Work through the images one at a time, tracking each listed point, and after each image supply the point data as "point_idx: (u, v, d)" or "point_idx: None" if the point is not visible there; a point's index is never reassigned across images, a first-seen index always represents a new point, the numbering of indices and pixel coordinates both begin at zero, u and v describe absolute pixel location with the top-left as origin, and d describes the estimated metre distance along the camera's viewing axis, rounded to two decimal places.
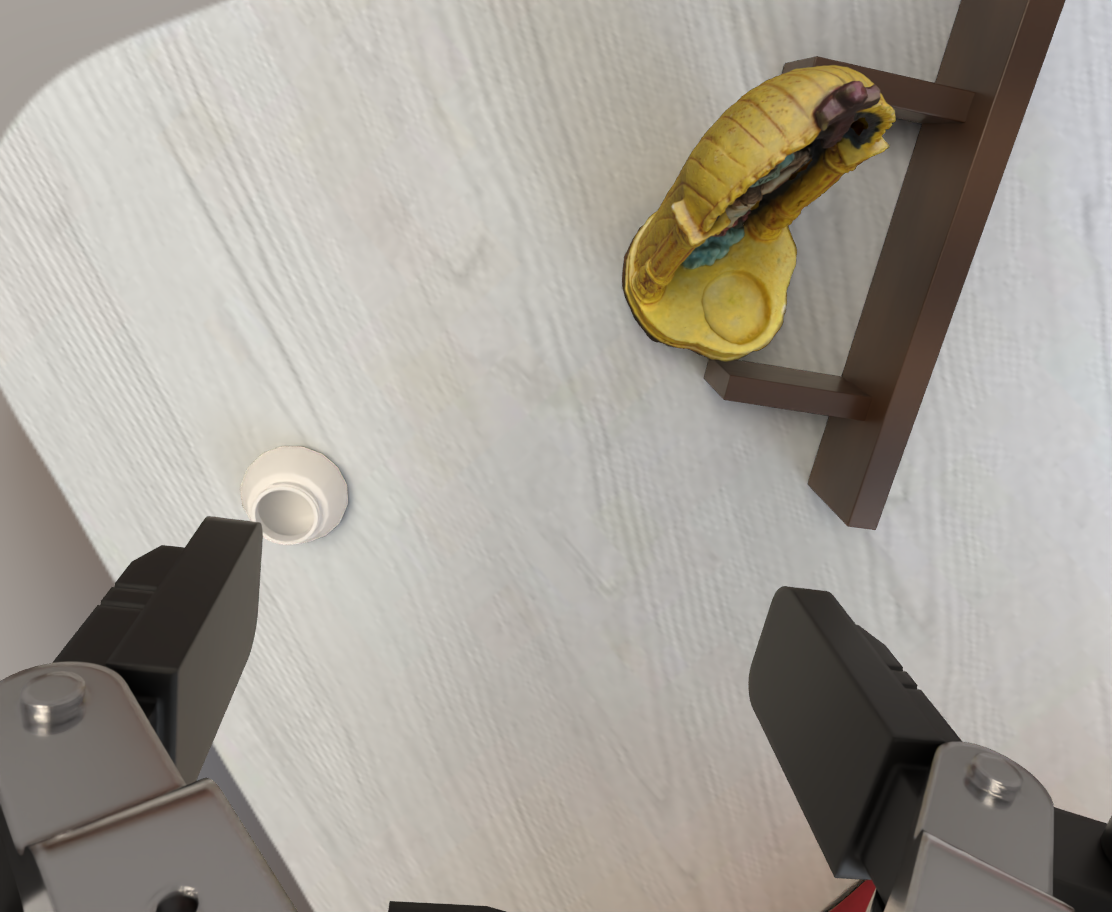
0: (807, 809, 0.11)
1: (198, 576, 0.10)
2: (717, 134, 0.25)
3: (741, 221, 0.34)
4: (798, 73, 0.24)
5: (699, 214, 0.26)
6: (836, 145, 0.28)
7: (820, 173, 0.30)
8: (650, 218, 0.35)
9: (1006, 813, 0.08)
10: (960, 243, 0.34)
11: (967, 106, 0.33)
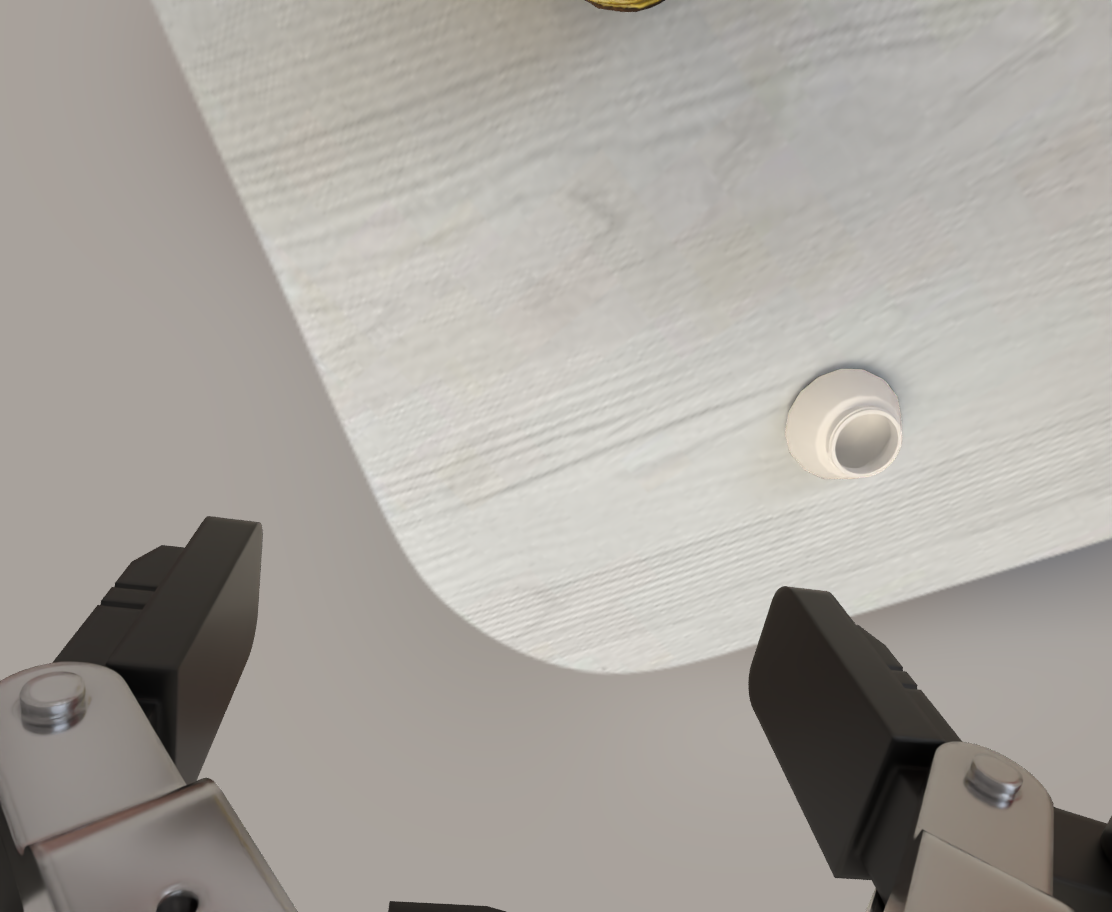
0: (806, 808, 0.11)
1: (198, 576, 0.10)
2: None
3: None
4: None
5: None
6: None
7: None
8: None
9: (1006, 812, 0.08)
10: None
11: None
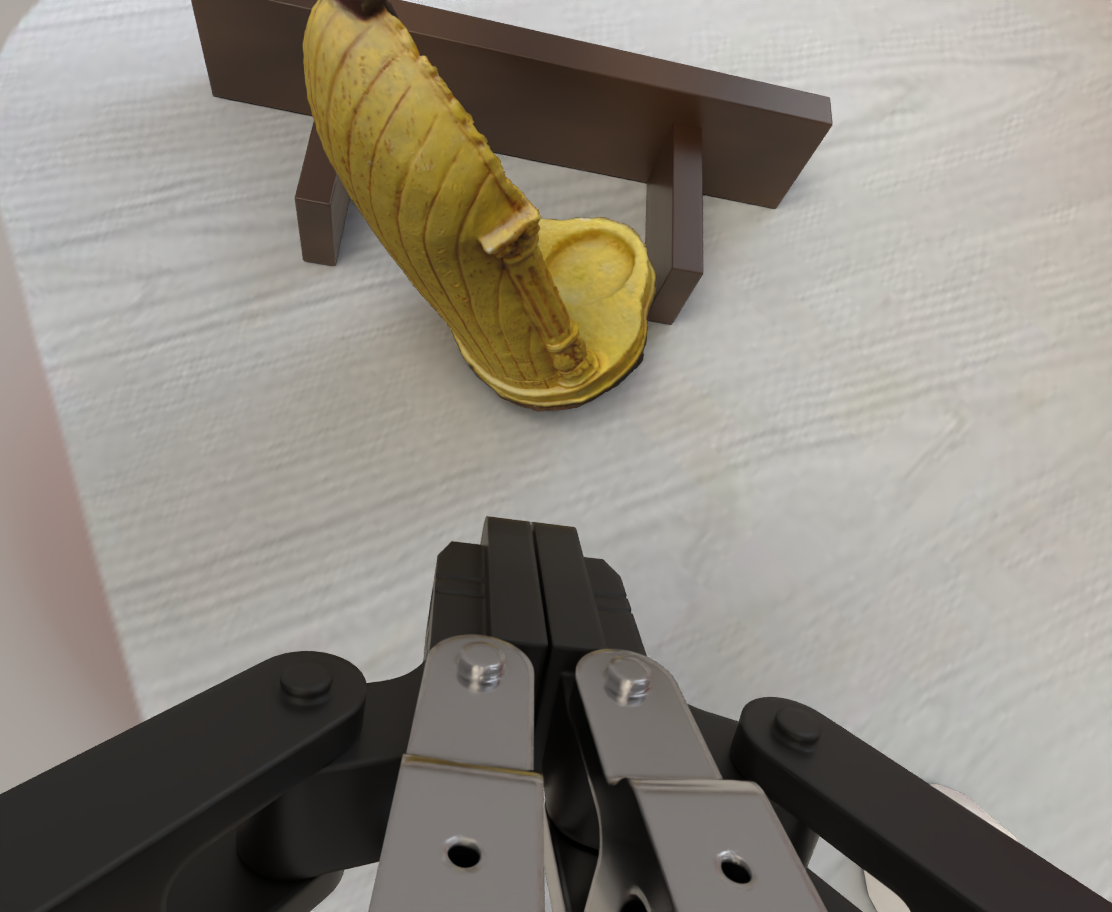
0: None
1: (514, 567, 0.11)
2: (393, 177, 0.18)
3: None
4: (313, 68, 0.18)
5: (499, 204, 0.19)
6: None
7: None
8: (489, 380, 0.28)
9: (621, 705, 0.09)
10: (494, 36, 0.30)
11: None
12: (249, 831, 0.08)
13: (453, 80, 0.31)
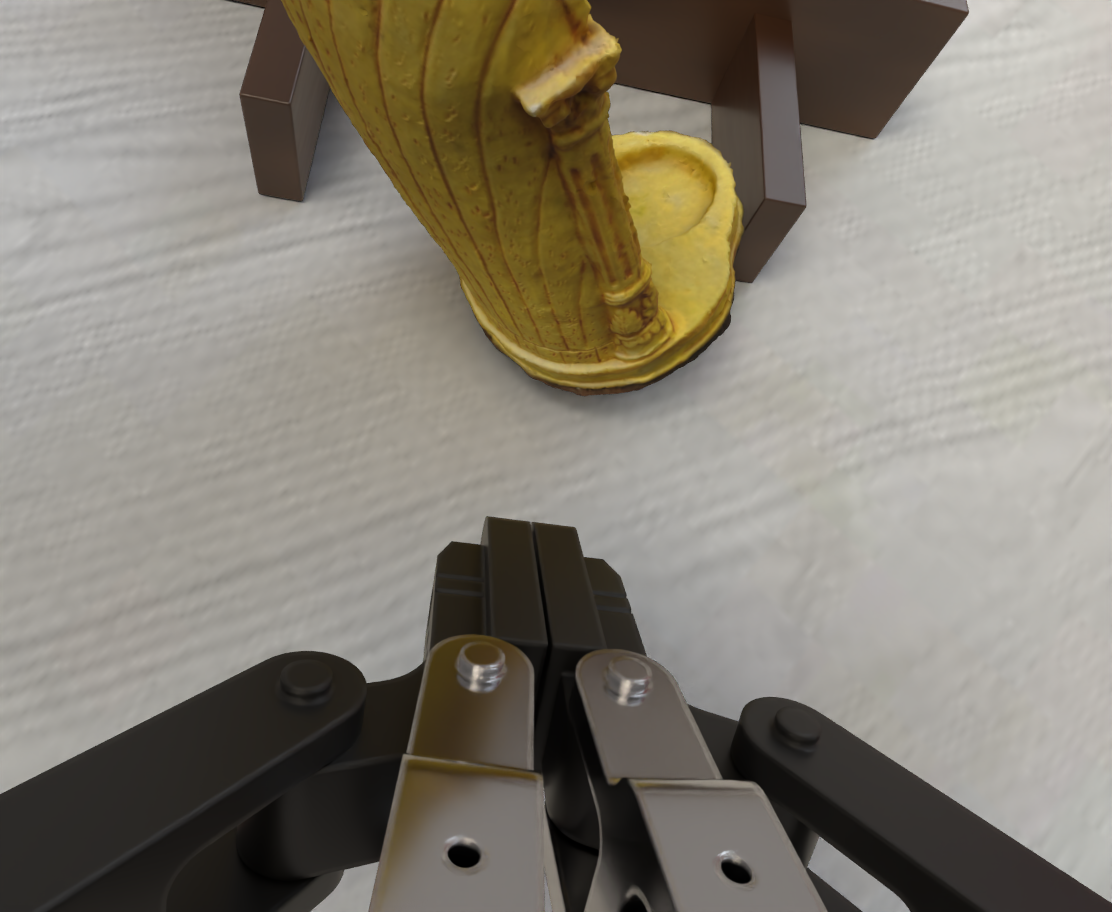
0: None
1: (514, 567, 0.11)
2: None
3: None
4: None
5: (553, 22, 0.11)
6: None
7: None
8: (516, 353, 0.20)
9: (621, 706, 0.09)
10: None
11: None
12: (249, 831, 0.08)
13: None
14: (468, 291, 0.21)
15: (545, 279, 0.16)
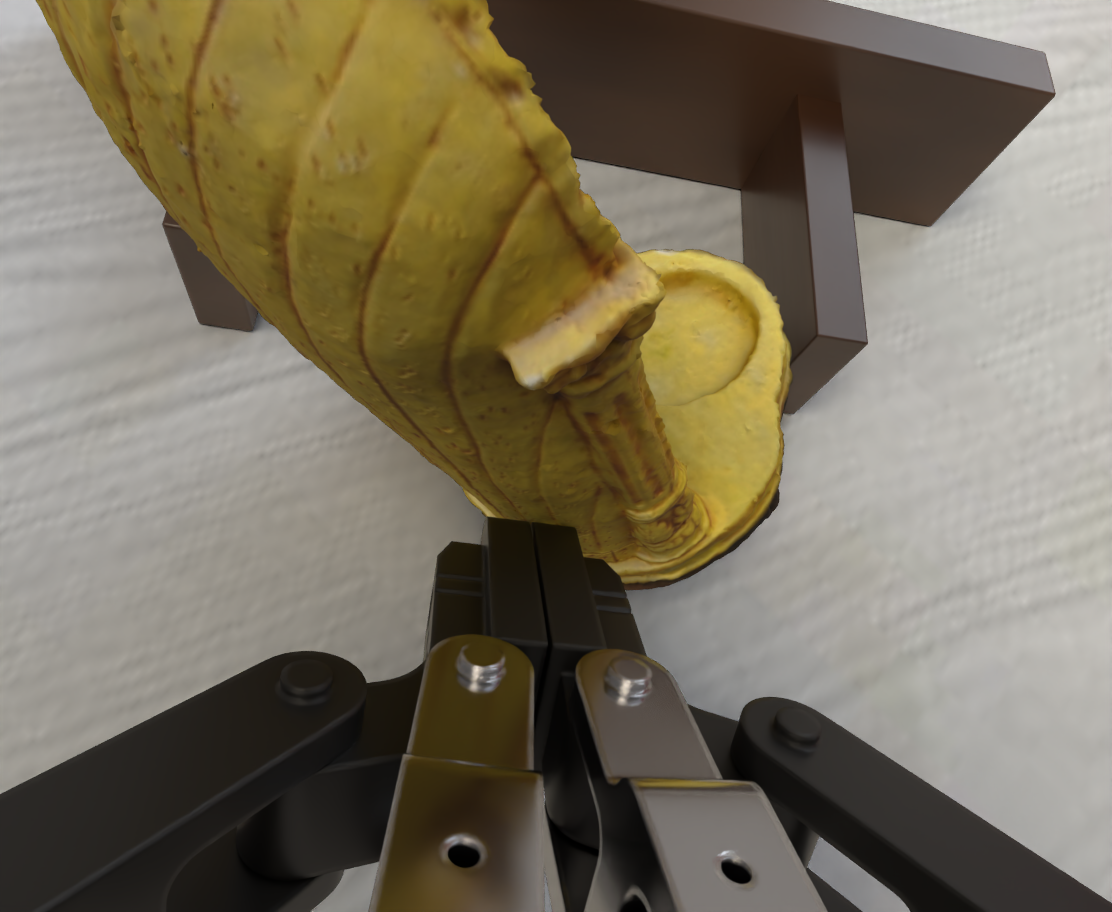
0: None
1: (514, 567, 0.11)
2: (257, 194, 0.06)
3: None
4: None
5: (559, 262, 0.07)
6: None
7: None
8: None
9: (621, 705, 0.09)
10: None
11: None
12: (249, 831, 0.08)
13: None
14: None
15: (548, 503, 0.12)
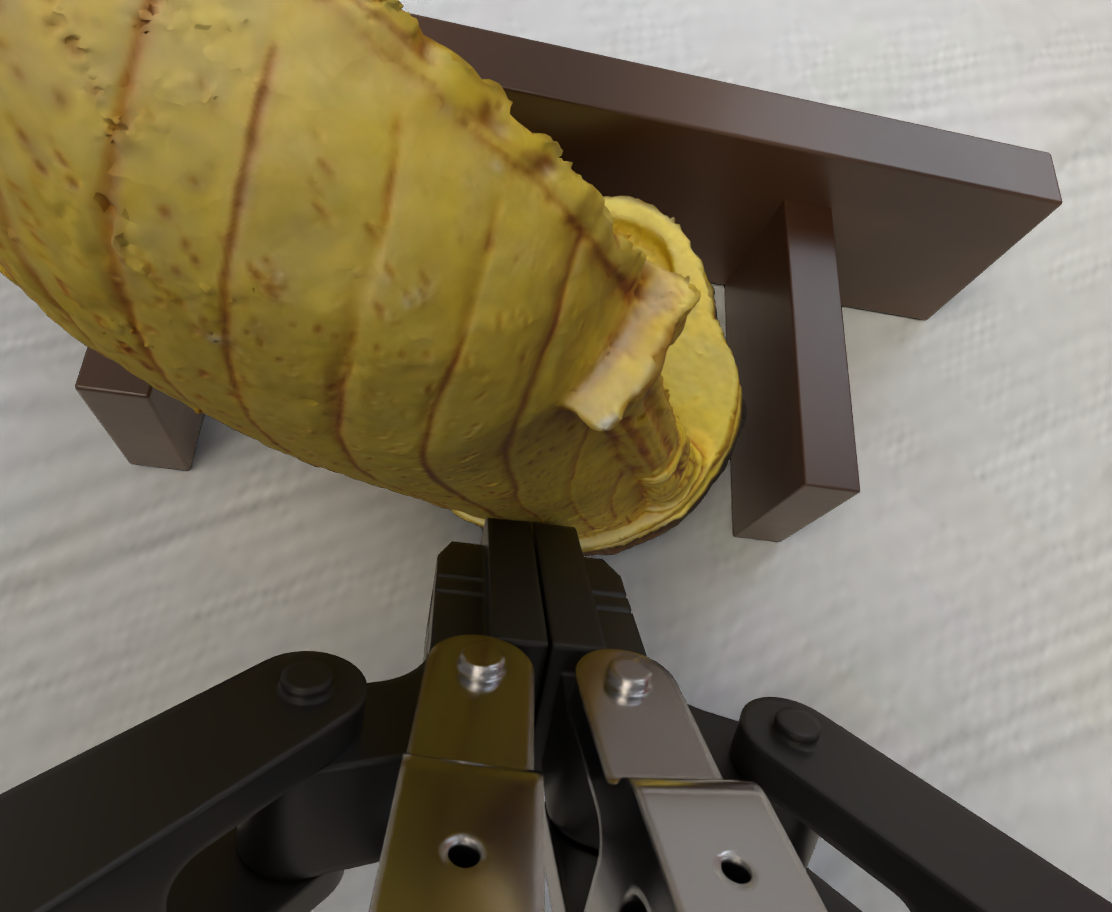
0: None
1: (514, 567, 0.11)
2: (311, 357, 0.06)
3: None
4: None
5: (604, 303, 0.07)
6: None
7: None
8: None
9: (621, 705, 0.09)
10: (472, 54, 0.16)
11: None
12: (249, 831, 0.08)
13: None
14: None
15: (576, 503, 0.12)
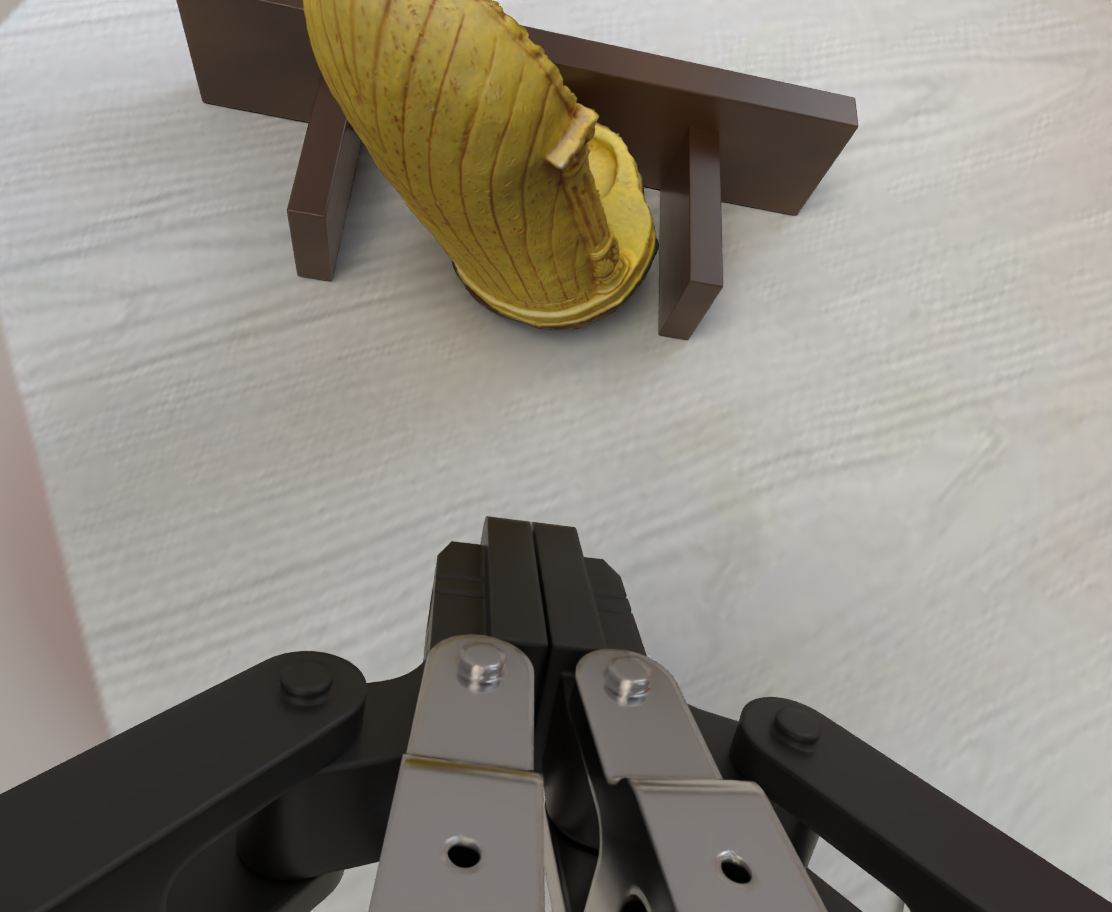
0: None
1: (514, 567, 0.11)
2: (462, 117, 0.17)
3: None
4: (348, 28, 0.17)
5: (560, 114, 0.19)
6: None
7: None
8: (525, 314, 0.28)
9: (621, 705, 0.09)
10: None
11: None
12: (249, 831, 0.08)
13: None
14: (471, 283, 0.28)
15: (555, 258, 0.24)
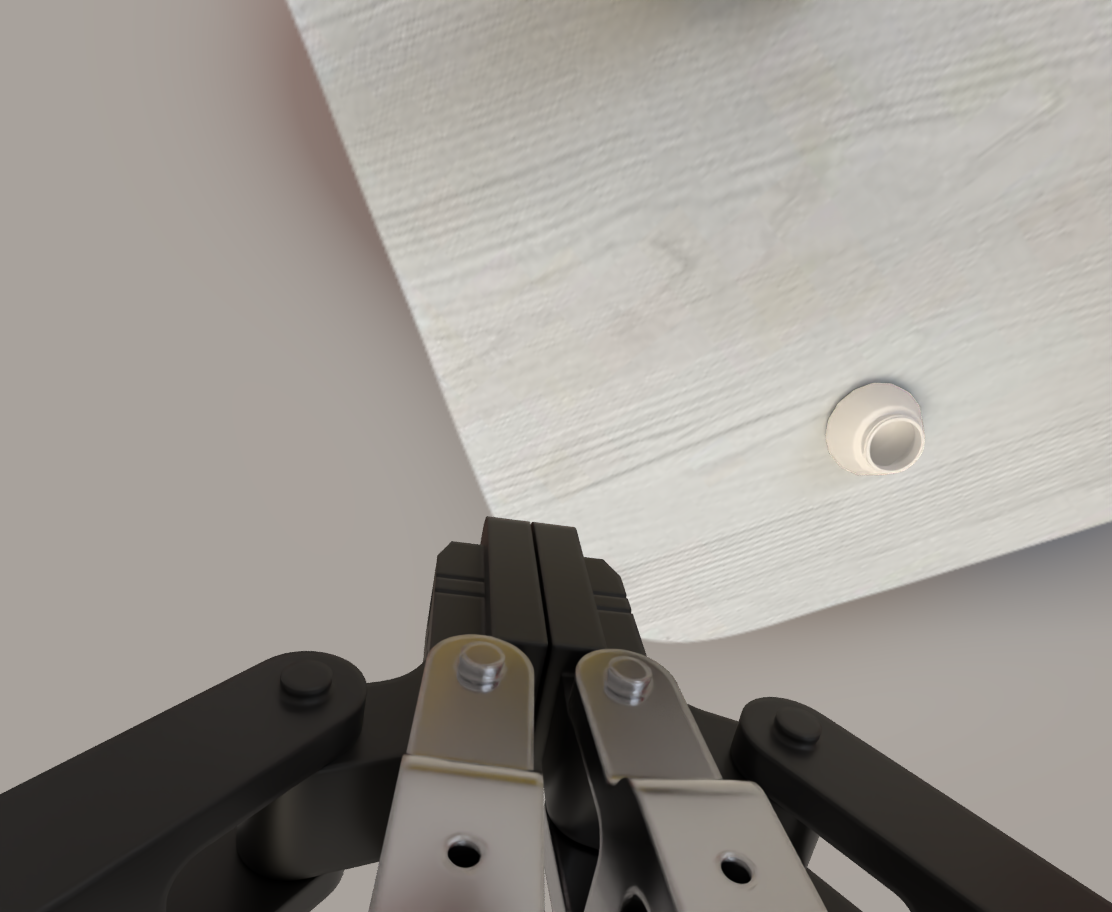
0: None
1: (514, 567, 0.11)
2: None
3: None
4: None
5: None
6: None
7: None
8: None
9: (620, 705, 0.09)
10: None
11: None
12: (249, 831, 0.08)
13: None
14: None
15: None
